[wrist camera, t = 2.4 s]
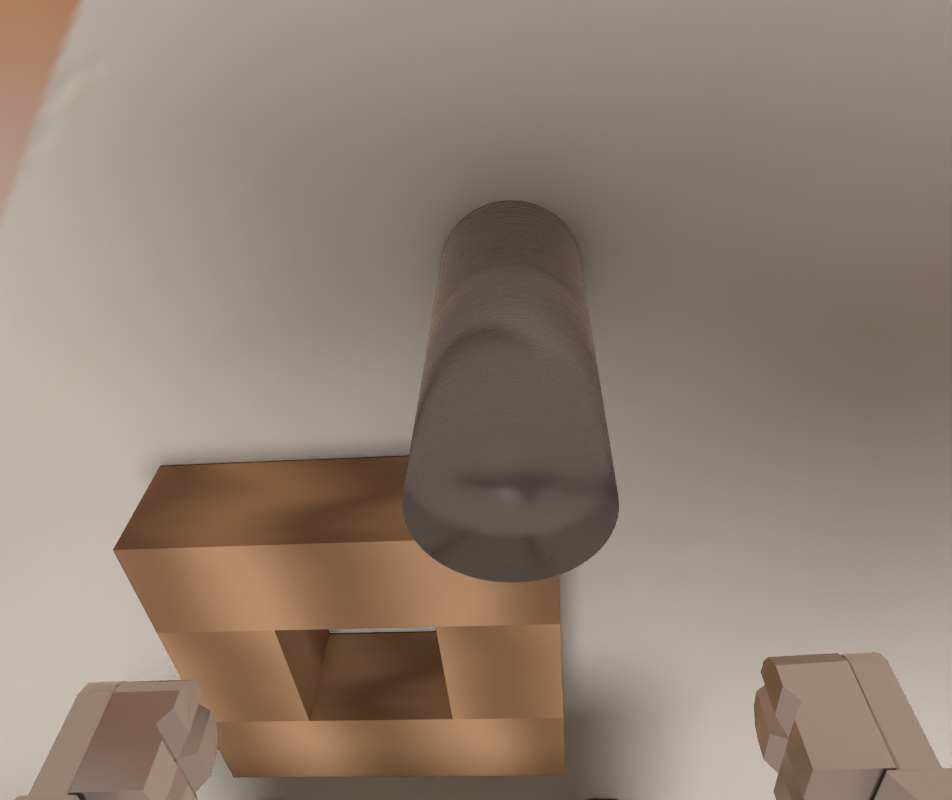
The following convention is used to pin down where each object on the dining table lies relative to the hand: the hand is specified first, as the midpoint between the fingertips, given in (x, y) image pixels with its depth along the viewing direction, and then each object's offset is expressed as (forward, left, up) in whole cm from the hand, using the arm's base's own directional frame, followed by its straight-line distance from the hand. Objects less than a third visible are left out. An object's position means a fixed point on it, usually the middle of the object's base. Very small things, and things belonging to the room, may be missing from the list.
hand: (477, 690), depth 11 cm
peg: (0, 0, -14) cm, 14 cm away
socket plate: (+6, +14, -14) cm, 21 cm away
